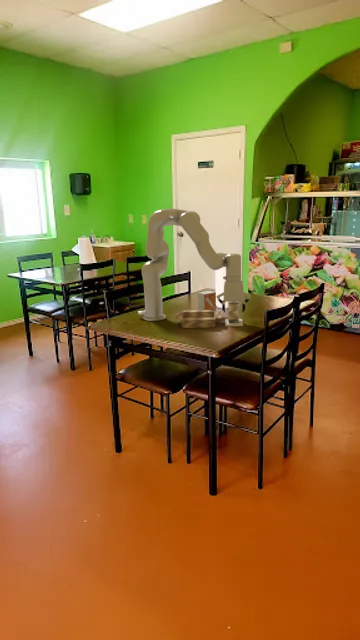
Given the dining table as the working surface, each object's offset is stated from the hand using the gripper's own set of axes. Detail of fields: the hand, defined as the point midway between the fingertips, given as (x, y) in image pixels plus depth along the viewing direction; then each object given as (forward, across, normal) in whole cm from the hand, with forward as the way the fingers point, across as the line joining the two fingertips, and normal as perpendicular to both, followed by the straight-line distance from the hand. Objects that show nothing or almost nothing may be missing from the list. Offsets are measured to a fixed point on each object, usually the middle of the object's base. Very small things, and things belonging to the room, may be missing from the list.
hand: (233, 311), depth 224 cm
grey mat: (+6, 0, 0) cm, 6 cm away
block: (+5, 0, 0) cm, 5 cm away
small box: (+6, -14, +18) cm, 24 cm away
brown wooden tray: (+6, -18, 0) cm, 19 cm away
